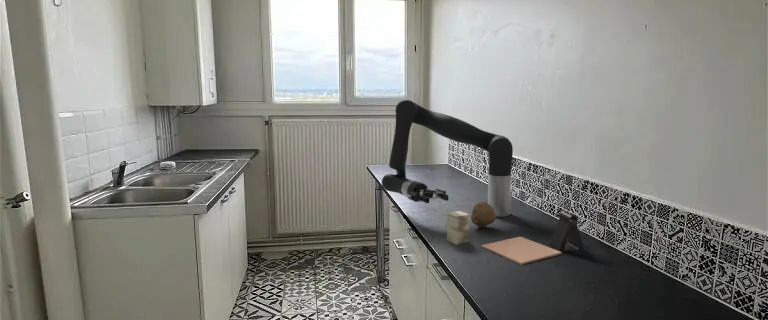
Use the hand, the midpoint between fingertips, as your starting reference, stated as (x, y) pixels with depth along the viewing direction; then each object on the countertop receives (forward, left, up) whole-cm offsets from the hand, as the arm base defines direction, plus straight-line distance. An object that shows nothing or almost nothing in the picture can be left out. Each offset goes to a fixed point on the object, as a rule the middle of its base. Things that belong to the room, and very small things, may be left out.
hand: (438, 199), depth 166 cm
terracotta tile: (-12, +29, -13) cm, 34 cm away
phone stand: (-27, +35, -13) cm, 47 cm away
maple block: (0, +11, -13) cm, 17 cm away
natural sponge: (-18, +4, -13) cm, 23 cm away
